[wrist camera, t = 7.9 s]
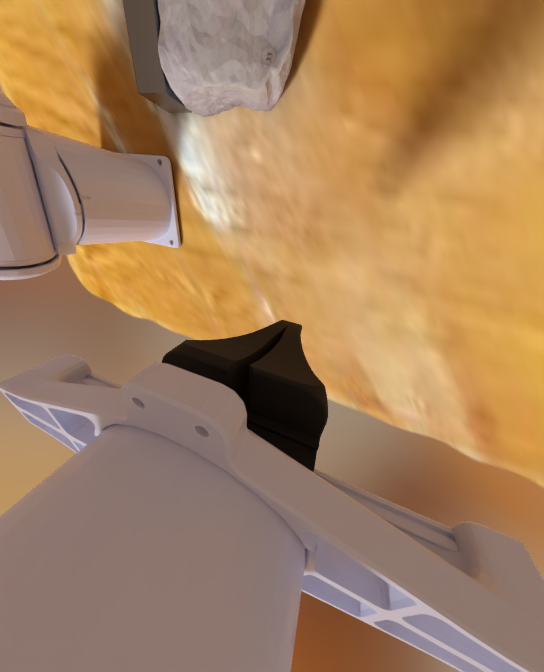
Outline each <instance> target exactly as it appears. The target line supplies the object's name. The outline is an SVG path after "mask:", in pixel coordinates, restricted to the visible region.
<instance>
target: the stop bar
mask: <svg viewBox="0 0 544 672" xmlns="http://www.w3.org/2000/svg"><path fill="white" fill-rule="evenodd" d="M123 5H124V11H125V17H126V23H127V29H128V35H129V41H130V47H131V53H132V58H133V64H134V70H135V76H136V82H137V88H138V93H139V94H141V95H142V96H144V97H145V98H147V99H149V100H150V101H152V102H153V103H155V104H157V105H158V106H160V107H161V108H163V109H165V110H166V111H168V112H192V111H190V110H188V109H187V108H186V107H185V106H184V104H183V103H182V101H181V100H180V99H179V98H178V97H177V95H176V94H175V93H174V91H173V90H172V89H171V87H170V85H169V83H168V80H167V78H166V76H165V74H164V72H163V69H162V67H161V62H160V57H159V52H158V40H159V32H160V24H161V21H160V15H159V9H158V0H123Z"/></svg>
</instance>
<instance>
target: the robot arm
mask: <svg viewBox="0 0 544 672" xmlns="http://www.w3.org/2000/svg"><path fill="white" fill-rule="evenodd" d="M161 161H162V165H161ZM129 241H144V242H149V243H154V244H159V245H164V246H169V247H174V248H179V247H180V246H181V241H180V233H179V225H178V217H177V209H176V201H175V193H174V185H173V177H172V169H171V163H170V160H169V159H168V158H167V157H165V156H158V155H143V154H127V153H115V152H112V151H108V150H105V149H102V148H99V147H96V146H92V145H89V144H86V143H83V142H80V141H76V140H73V139H70V138H67V137H64V136H60V135H57V134H54V133H51V132H48V131H44V130H41V129H38V128H35V127H32V126H29V125H27V122H26V118H25V115H24V113H23V112H22V111H21V110H20V109H19V108H18V107H16V106H15V105H14V104H13V103H12V101H11V100H10V99H9V98H8V97H7V96H6V95H5V94H4V93H2V92H1V91H0V280H16V279H25V278H31V277H36V276H39V275H42V274H45V273H47V272H49V271H52V270H54V269H55V268H57V267H58V266H59V265H60V264H61V255H69V254H76V245H85V244H100V243H114V242H129ZM172 241H173V243H172ZM301 330H302V326H301V325H300V324H296V323H292V322H288V321H285V320H281V321H278V322H276V323H274V324H272V325H270V326H268V327H265V328H263V329H260V330H258V331H255V332H253V333H249V334H246V335H242V336H238V337H232V338H226V339H218V340H185V341H184V342H183V343H181V344H180V345H178V346H177V347H175V348H174V349H172V350H171V351H169V352H168V353H167V354H166V355H165V356H164V357H163V360H162V363H157V362H155V363H153V364H152V365H151V366H149V367H148V368H146V369H145V370H143V371H142V372H140V373H139V374H138V375H136V376H135V377H134V378H132V379H131V380H129V381H128V382H126V383H125V384H124V385H123V386H122V385H119V384H117V383H115V382H112V381H110V380H108V379H106V378H103V377H101V376H98V375H96V374H94V373H92V370H91V368H90V365H89V364H88V363H87V362H86V361H85V360H84V359H82V358H80V357H77V356H75V355H73V354H70V353H65V354H63V355H61V356H59V357H56V358H54V359H52V360H50V361H48V362H45V363H43V364H41V365H38V366H36V367H34V368H32V369H29V370H27V371H25V372H23V373H20V374H18V375H16V376H14V377H11V378H9V379H7V380H5V381H3V382H0V391H1V392H2V393H3V394H4V395H5V396H6V397H7V398H8V400H9V401H10V402H11V403H12V404H13V405H14V406H15V407H16V408H17V409H18V411H19V412H20V413H21V414H22V415H23V416H24V417H25V418H26V419H27V421H29V422H30V423H31V424H33V425H35V426H36V427H38V428H40V429H41V430H43V431H44V432H46V433H47V434H49V435H51V436H52V437H54V438H55V439H57V440H58V441H60V442H61V443H63V444H64V445H66V446H67V447H69V448H70V449H72V450H73V451H74V452H76V454H75V455H74V456H72V457H71V458H70V459H69V460H68V461H67V462H65V463H64V464H63V465H62V466H60V467H59V468H58V469H57V470H56V471H54V472H53V473H52V474H51V475H50V476H48V477H47V478H46V479H45V480H43V481H42V482H41V483H40V484H39V485H37V486H36V487H35V488H34V489H33V490H31V491H30V492H29V493H28V494H26V495H25V496H24V497H23V498H22V499H20V500H19V501H18V502H17V503H16V504H14V505H13V506H12V507H11V508H10V509H8V510H7V511H6V512H5V513H4V514H2V515H1V516H0V672H290V671H291V663H292V656H293V649H294V641H295V634H296V627H297V619H298V612H299V604H300V596H301V591H303V592H305V593H307V594H309V595H311V596H313V597H315V598H317V599H320V600H321V601H323V602H326V603H327V604H329V605H331V606H333V607H336V608H337V609H339V610H342V611H343V612H345V613H347V614H350V615H352V616H353V617H356V618H358V619H359V620H361V621H364V622H366V623H368V624H370V625H372V626H374V627H376V628H378V629H380V630H382V631H384V632H386V633H388V634H390V635H392V636H394V637H396V638H398V639H400V640H402V641H404V642H406V643H408V644H410V645H412V646H414V647H415V648H417V649H419V650H421V651H423V652H425V653H427V654H429V655H431V656H433V657H435V658H437V659H439V660H440V661H442V662H444V663H446V664H448V665H450V666H452V667H453V668H456V669H457V670H459V671H461V672H544V581H543V579H542V577H541V575H540V573H539V572H538V570H537V568H536V566H535V564H534V562H533V561H532V559H531V557H530V555H529V553H528V551H527V549H526V548H525V546H524V544H523V543H522V542H520V541H519V540H517V539H515V538H513V537H510V536H507V535H505V534H503V533H500V532H498V531H496V530H493V529H491V528H488V527H486V526H484V525H481V524H478V523H475V522H469V521H464V522H460V523H458V524H457V525H456V526H454V527H453V528H450V527H448V526H445V525H443V524H440V523H438V522H436V521H434V520H431V519H429V518H427V517H424V516H422V515H420V514H417V513H415V512H413V511H411V510H408V509H406V508H403V507H401V506H399V505H397V504H394V503H392V502H390V501H387V500H385V499H383V498H380V497H378V496H376V495H373V494H371V493H369V492H367V491H364V490H362V489H360V488H357V487H355V486H353V485H351V484H348V483H346V482H344V481H341V480H339V479H337V478H334V477H332V476H330V475H327V474H325V473H323V472H320V471H318V470H316V469H314V466H315V459H316V453H317V450H318V447H319V441H320V436H321V434H322V432H323V430H324V427H325V425H326V422H327V418H328V404H327V395H326V390H325V386H324V385H323V383H322V382H321V381H320V380H319V379H318V378H317V377H316V376H315V374H314V373H313V371H312V370H311V368H310V366H309V364H308V362H307V360H306V358H305V355H304V352H303V349H302V344H301V336H300V334H301Z"/></svg>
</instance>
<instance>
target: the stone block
mask: <svg viewBox="0 0 544 672" xmlns="http://www.w3.org/2000/svg"><path fill="white" fill-rule="evenodd" d="M305 3H306V0H158V9H159V15H160V21H161V24H160V32H159V40H158V52H159V57H160V62H161V67H162V69H163V72H164V74H165V76H166V78H167V80H168V83H169V85H170V87H171V89H172V90H173V91H174V93H175V94H176V95H177V97H178V98H179V99H180V100H181V101H182V103H183V104H184V106H185V107H186V108H187V109H188V110H190V111H192V112H195V113H197V114H200V115H202V116H211V115H214V114H219V113H221V112H223V111H227V110H230V109H232V108H233V107H234V106H243V107H247V108H250V109H252V110H264V111H270V110H272V108H273V107H274V105H275V104H276V103H277V101H278V100H279V98H280V96H281V94H282V92H283V89H284V86H285V83H286V80H287V78H288V75H289V72H290V70H291V67H292V60H293V56H294V51H295V46H296V42H297V38H298V32H299V27H300V22H301V17H302V12H303V9H304V7H305Z"/></svg>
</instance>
